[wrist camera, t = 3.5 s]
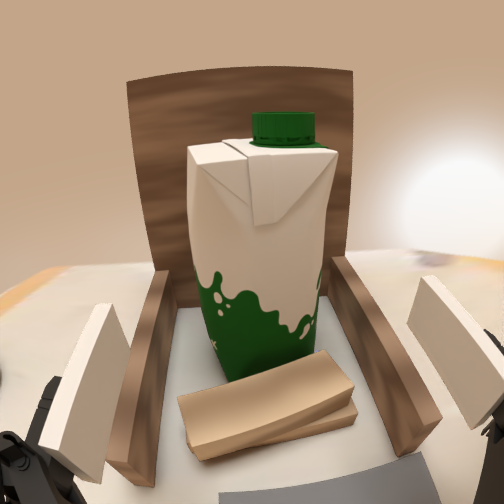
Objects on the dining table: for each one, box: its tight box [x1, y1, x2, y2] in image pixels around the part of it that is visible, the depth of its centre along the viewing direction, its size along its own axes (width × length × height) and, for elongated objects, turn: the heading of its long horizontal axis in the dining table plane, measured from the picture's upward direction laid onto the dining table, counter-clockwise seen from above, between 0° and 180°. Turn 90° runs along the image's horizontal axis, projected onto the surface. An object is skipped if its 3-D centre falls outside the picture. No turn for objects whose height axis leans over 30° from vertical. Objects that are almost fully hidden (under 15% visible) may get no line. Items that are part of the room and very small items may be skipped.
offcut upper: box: [177, 349, 355, 461], centre depth 18 cm, size 4×11×2 cm, turn 112°
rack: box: [105, 66, 443, 487], centre depth 19 cm, size 22×20×24 cm
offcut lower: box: [186, 398, 358, 453], centre depth 19 cm, size 4×12×2 cm, turn 99°
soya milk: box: [187, 111, 339, 383], centre depth 22 cm, size 9×9×20 cm
